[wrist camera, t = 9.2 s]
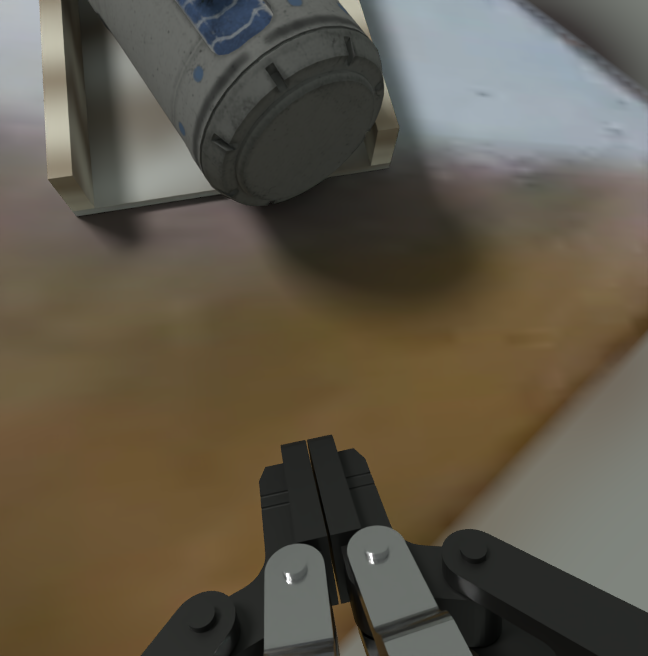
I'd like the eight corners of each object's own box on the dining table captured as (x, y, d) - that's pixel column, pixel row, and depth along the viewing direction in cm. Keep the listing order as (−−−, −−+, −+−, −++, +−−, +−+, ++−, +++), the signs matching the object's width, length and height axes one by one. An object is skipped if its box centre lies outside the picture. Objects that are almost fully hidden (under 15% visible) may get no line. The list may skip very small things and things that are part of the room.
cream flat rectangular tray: (389, 167, 31) (399, 127, 28) (76, 216, 29) (47, 179, 26) (306, -107, 39) (307, -164, 36) (56, -84, 37) (32, -141, 34)
